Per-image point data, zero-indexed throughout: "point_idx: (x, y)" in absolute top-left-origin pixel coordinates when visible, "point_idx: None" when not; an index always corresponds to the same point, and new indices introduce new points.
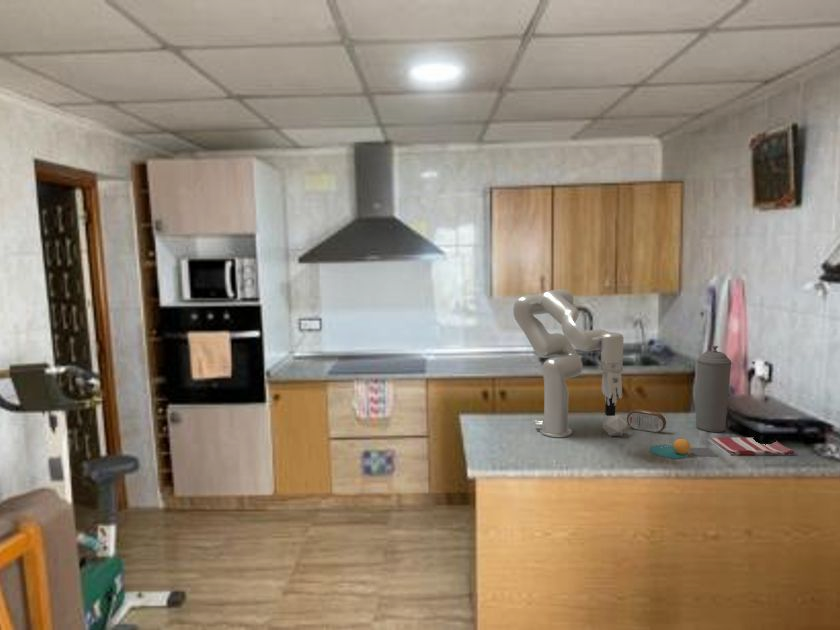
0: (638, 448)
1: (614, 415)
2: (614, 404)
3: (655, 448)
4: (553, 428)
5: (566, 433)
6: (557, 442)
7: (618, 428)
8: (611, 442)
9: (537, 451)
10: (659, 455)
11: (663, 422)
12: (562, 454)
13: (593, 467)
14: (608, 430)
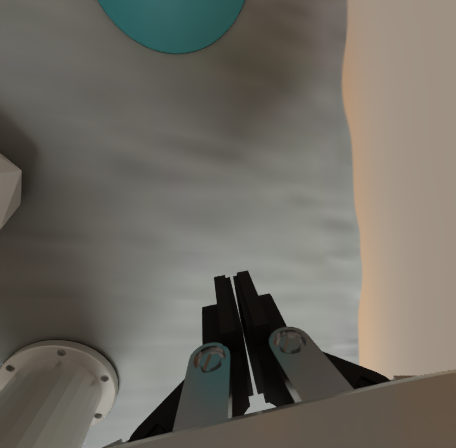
0: (154, 102)
1: (247, 272)
2: (311, 348)
3: (142, 19)
4: (93, 414)
5: (86, 360)
6: (162, 372)
7: (6, 173)
8: (109, 204)
9: (251, 411)
10: (229, 25)
11: None
12: None
13: (354, 277)
14: (11, 215)
